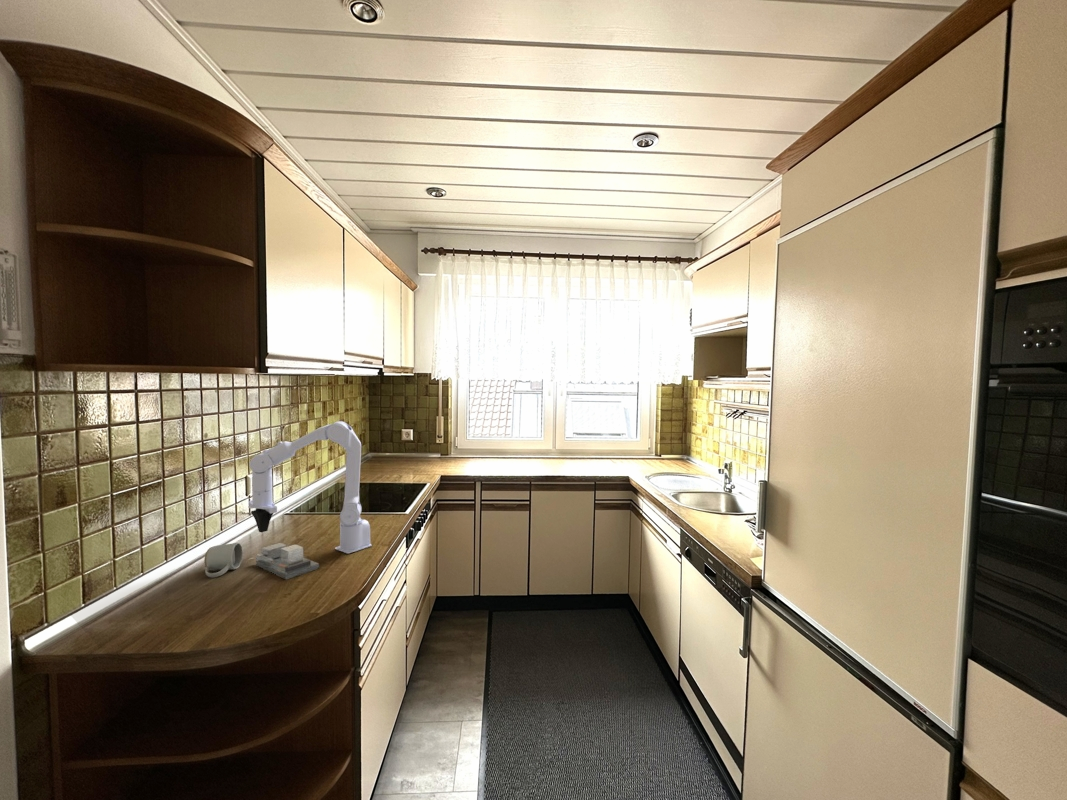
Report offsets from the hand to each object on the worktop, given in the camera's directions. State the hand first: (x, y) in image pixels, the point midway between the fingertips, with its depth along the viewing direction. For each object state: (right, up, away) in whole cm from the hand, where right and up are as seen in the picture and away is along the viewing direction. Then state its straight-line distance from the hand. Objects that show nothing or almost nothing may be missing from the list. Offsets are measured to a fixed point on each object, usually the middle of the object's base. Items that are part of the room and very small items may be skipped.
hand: (263, 531), depth 152 cm
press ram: (+6, -7, -4) cm, 10 cm away
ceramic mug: (-6, -9, -11) cm, 15 cm away
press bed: (+12, -9, -8) cm, 17 cm away
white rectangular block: (+15, -7, -10) cm, 19 cm away
